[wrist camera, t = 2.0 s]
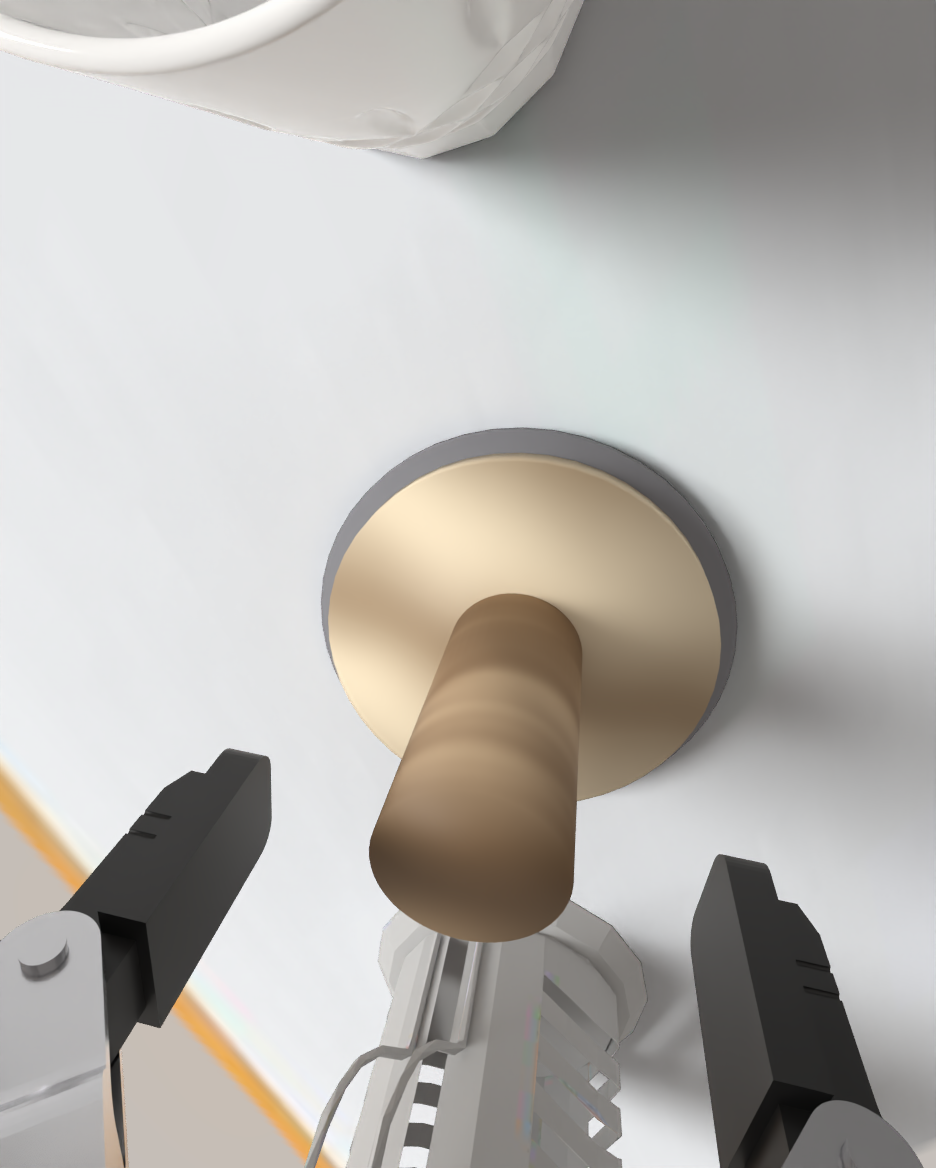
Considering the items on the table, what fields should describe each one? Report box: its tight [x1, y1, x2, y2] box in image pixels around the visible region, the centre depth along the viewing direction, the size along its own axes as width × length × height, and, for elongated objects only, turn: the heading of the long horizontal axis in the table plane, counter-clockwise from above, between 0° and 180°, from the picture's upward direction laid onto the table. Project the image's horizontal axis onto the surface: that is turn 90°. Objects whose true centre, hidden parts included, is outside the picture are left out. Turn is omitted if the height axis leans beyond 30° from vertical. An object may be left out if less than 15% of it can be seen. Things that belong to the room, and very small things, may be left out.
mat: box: [321, 428, 737, 757], centre depth 18 cm, size 11×11×1 cm
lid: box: [328, 453, 721, 943], centre depth 15 cm, size 10×10×8 cm
